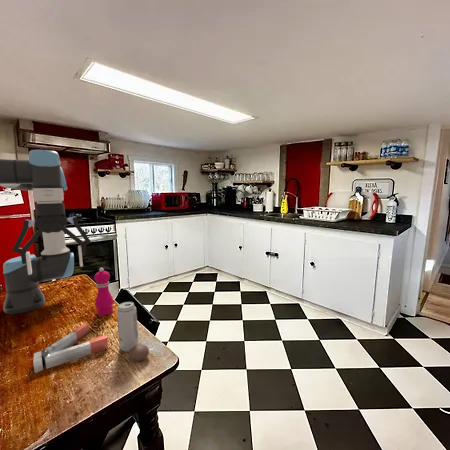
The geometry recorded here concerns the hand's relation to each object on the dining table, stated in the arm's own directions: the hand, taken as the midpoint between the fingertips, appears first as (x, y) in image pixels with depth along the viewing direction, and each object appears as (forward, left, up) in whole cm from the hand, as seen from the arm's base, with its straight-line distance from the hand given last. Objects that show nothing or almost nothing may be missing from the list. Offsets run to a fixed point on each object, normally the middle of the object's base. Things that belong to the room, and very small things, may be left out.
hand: (57, 269), depth 80 cm
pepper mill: (-21, +16, -28) cm, 38 cm away
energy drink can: (+11, +18, -28) cm, 35 cm away
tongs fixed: (+5, +2, -28) cm, 28 cm away
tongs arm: (-2, +1, -28) cm, 28 cm away
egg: (+19, +19, -28) cm, 39 cm away
